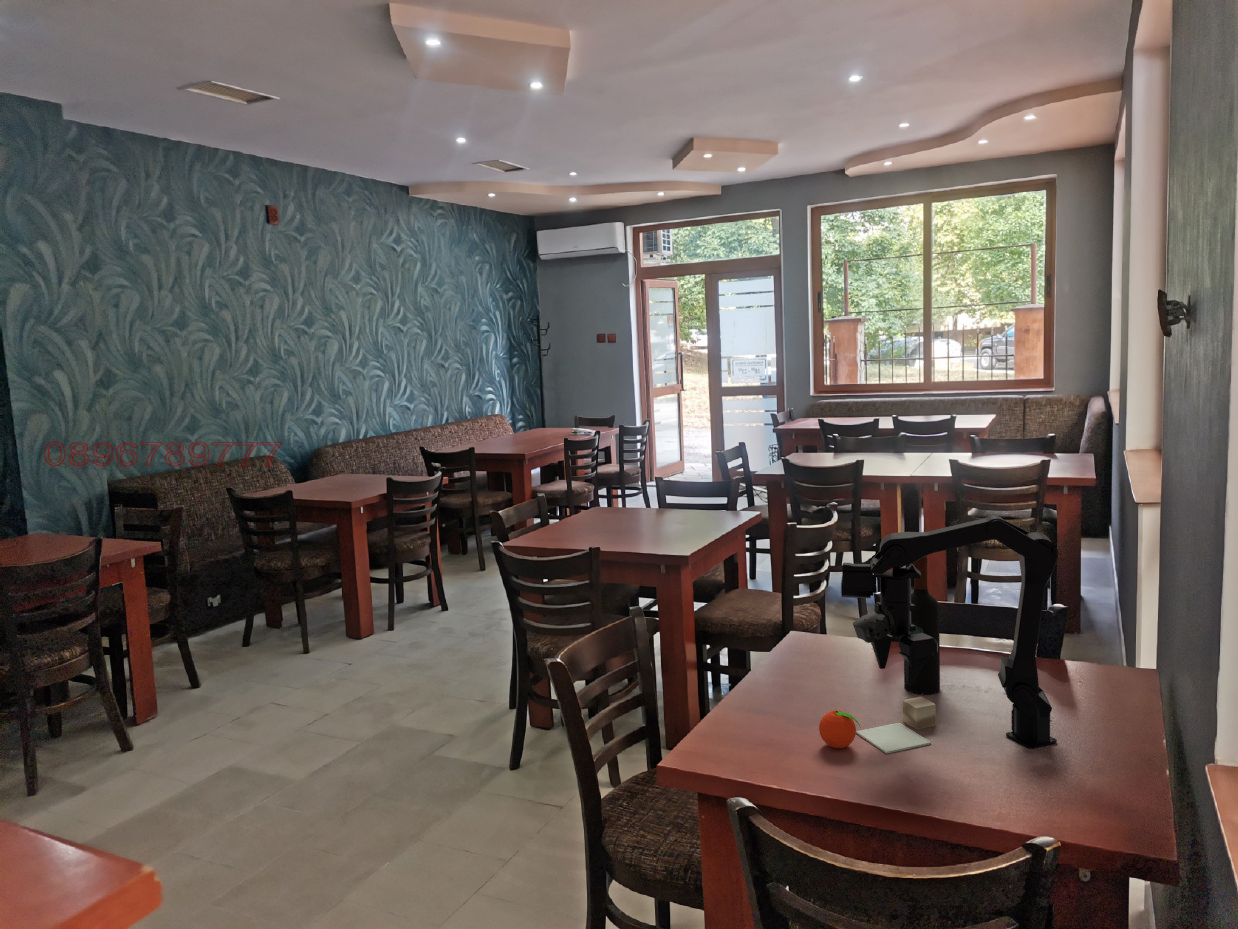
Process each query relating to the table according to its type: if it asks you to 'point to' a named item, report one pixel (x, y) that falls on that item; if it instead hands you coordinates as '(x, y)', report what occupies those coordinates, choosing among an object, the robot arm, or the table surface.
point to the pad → (893, 738)
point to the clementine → (837, 729)
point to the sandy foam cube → (919, 712)
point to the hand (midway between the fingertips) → (895, 676)
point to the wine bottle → (929, 625)
